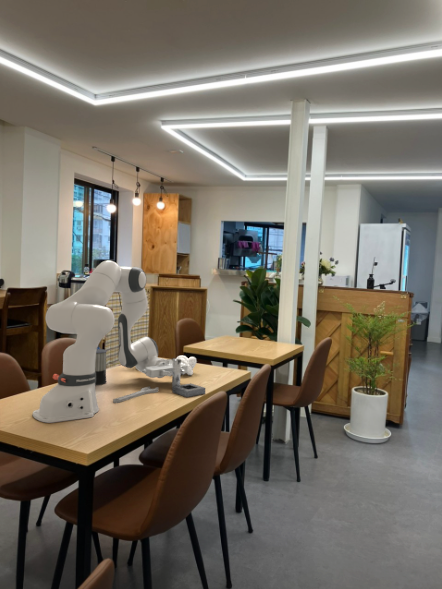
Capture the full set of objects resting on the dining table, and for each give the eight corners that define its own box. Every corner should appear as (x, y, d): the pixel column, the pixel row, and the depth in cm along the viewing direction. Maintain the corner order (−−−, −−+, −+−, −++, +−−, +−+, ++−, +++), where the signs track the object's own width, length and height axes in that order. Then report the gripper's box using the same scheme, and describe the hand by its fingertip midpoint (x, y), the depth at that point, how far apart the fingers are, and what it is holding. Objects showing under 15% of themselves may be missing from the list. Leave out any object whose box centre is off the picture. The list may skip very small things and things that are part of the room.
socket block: (186, 397, 190) (187, 391, 190) (172, 392, 198) (172, 386, 198) (205, 393, 197) (205, 387, 197) (190, 388, 204) (190, 383, 204)
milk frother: (107, 385, 207) (107, 352, 206) (70, 386, 202) (70, 353, 202) (105, 377, 221) (105, 347, 220) (70, 379, 216) (70, 347, 215)
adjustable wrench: (116, 404, 179) (116, 400, 179) (105, 401, 183) (105, 397, 183) (160, 391, 199) (160, 387, 199) (149, 389, 203) (149, 385, 203)
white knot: (198, 376, 229) (199, 358, 228) (174, 377, 226) (175, 359, 226) (194, 372, 240) (195, 354, 239) (171, 372, 237) (172, 355, 237)
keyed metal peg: (176, 390, 201) (177, 360, 200) (169, 388, 205) (170, 358, 204) (182, 389, 203) (183, 359, 203) (175, 387, 207) (176, 357, 206)
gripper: (140, 363, 206) (158, 369, 196) (176, 358, 220) (195, 363, 210) (139, 377, 206) (157, 383, 196) (176, 372, 220) (195, 377, 210)
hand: (177, 373), depth 203 cm, fingers open, 6 cm apart
